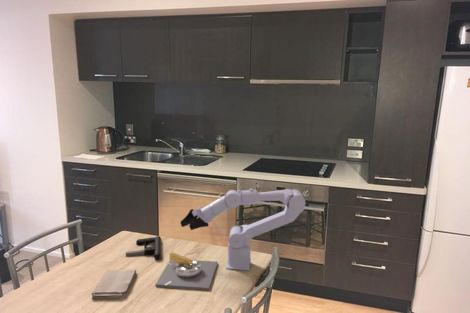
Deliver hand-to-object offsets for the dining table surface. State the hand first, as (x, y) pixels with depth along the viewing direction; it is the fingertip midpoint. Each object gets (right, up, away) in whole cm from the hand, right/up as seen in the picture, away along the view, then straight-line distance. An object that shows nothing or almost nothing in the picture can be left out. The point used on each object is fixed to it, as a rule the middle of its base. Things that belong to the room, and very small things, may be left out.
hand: (185, 226), depth 145 cm
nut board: (+2, -18, -6) cm, 19 cm away
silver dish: (0, -16, -5) cm, 17 cm away
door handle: (-20, -14, +14) cm, 29 cm away
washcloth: (-24, -20, -14) cm, 34 cm away
